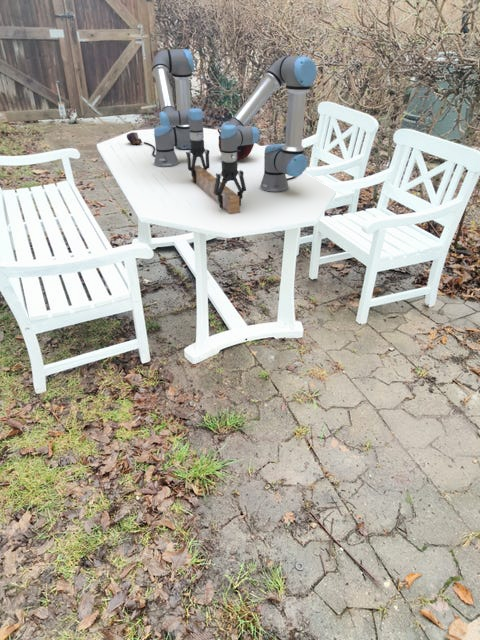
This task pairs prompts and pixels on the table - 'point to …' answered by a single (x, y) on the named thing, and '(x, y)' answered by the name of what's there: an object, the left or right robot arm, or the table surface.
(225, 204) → the post
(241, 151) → the decorative skull
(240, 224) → the table surface
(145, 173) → the table surface
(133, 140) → the rock
